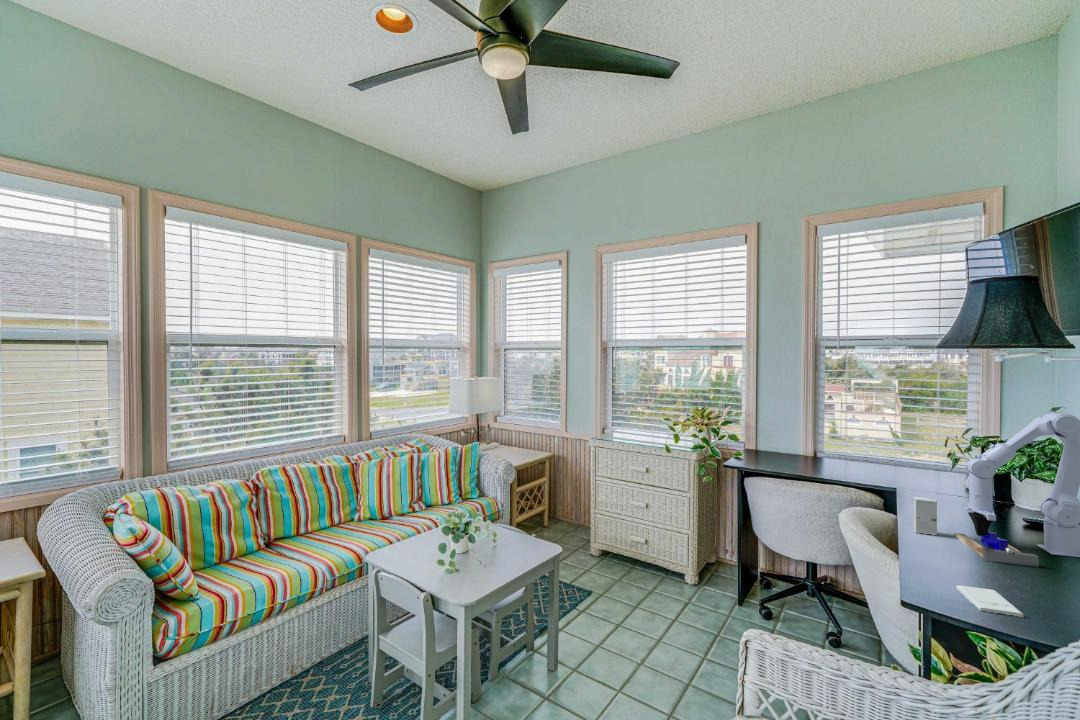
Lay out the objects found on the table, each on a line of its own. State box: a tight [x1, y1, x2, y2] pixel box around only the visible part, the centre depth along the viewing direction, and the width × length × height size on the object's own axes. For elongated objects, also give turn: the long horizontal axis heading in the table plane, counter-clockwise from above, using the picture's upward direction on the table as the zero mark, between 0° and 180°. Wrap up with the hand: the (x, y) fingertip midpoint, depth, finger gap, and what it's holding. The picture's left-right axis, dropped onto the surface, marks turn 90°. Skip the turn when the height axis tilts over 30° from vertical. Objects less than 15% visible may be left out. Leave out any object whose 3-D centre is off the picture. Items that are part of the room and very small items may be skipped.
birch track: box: [953, 532, 1023, 559], centre depth 152 cm, size 12×21×1 cm, turn 158°
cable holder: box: [980, 531, 1009, 551], centre depth 153 cm, size 8×4×4 cm, turn 158°
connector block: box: [982, 547, 1040, 568], centre depth 142 cm, size 12×2×4 cm, turn 68°
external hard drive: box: [956, 584, 1025, 618], centre depth 119 cm, size 2×8×12 cm
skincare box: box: [913, 496, 938, 536], centre depth 167 cm, size 6×4×12 cm
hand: (981, 535), depth 158 cm, fingers closed
